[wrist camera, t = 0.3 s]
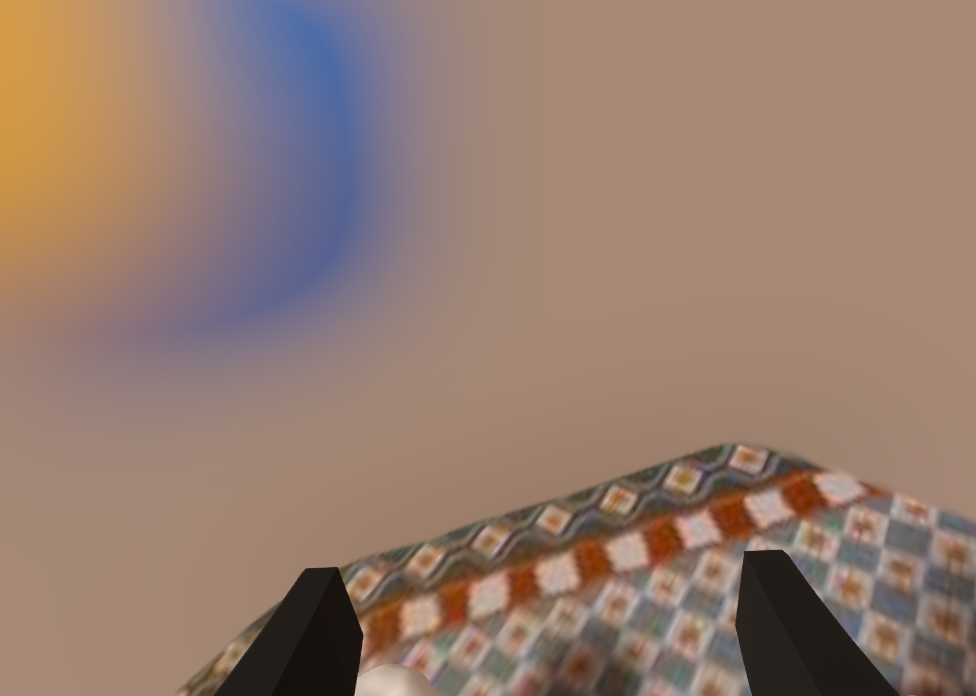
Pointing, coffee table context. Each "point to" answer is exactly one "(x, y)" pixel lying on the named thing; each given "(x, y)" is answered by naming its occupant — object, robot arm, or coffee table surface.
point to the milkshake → (393, 682)
